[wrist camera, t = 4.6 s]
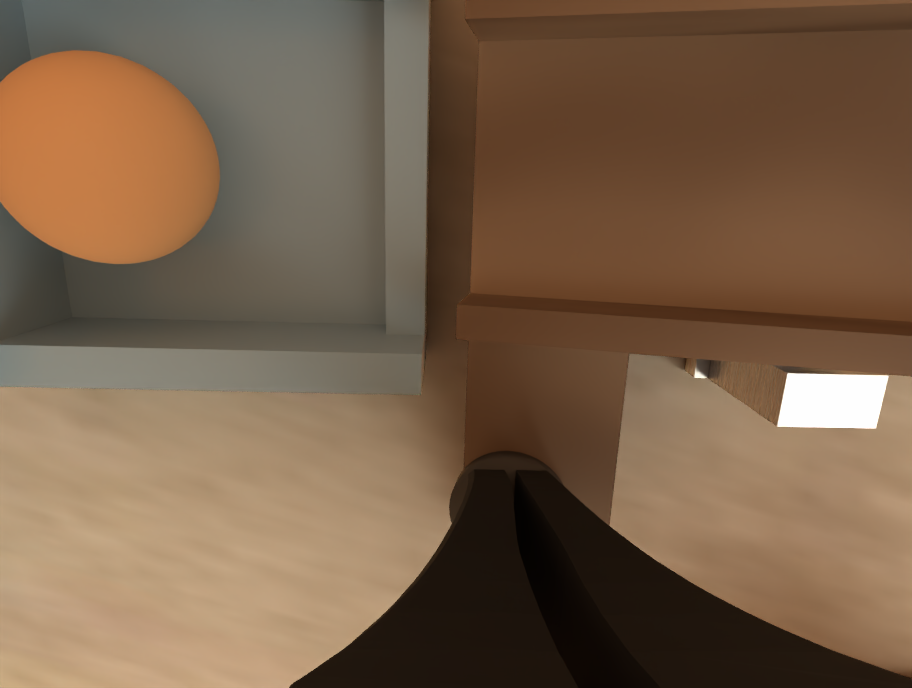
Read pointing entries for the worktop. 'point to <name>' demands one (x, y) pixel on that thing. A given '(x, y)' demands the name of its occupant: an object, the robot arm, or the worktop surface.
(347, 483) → the worktop surface
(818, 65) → the lever
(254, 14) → the dish
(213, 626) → the worktop surface
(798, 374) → the fulcrum
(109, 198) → the ball
